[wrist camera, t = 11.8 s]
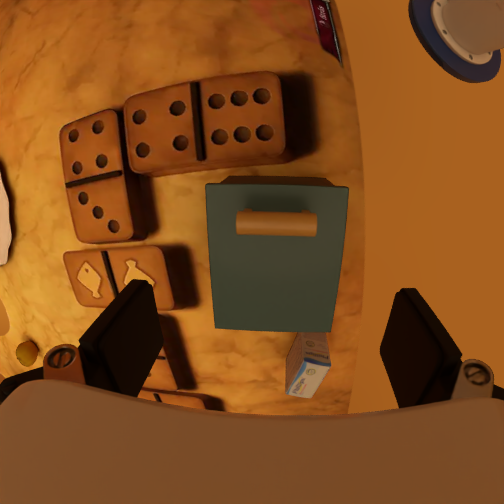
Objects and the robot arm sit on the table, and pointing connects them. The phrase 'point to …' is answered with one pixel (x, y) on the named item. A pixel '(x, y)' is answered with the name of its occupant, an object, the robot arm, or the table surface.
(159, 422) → the robot arm
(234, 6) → the table surface
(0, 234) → the plate
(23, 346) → the apple
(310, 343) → the medicine box
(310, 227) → the lid
